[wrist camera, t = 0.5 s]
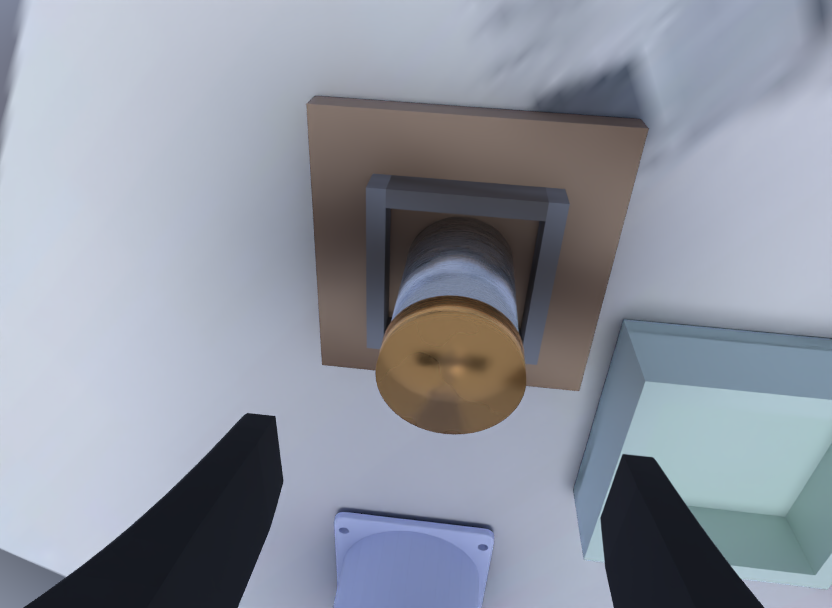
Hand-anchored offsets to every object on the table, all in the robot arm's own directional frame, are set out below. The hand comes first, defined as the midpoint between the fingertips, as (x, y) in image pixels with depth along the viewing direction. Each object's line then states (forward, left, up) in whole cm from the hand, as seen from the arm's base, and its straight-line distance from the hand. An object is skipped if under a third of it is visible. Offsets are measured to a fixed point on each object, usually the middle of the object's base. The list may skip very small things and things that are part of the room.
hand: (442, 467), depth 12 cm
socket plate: (0, 0, -10) cm, 10 cm away
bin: (-7, -11, -10) cm, 16 cm away
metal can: (0, 0, -9) cm, 9 cm away
